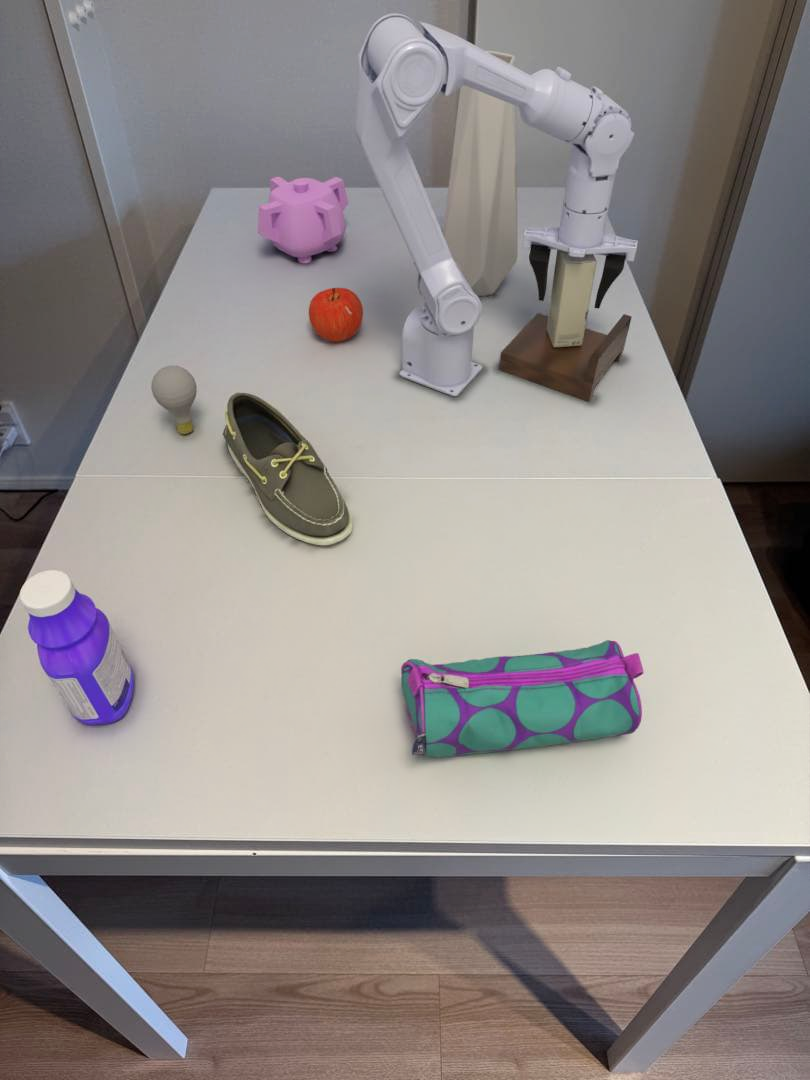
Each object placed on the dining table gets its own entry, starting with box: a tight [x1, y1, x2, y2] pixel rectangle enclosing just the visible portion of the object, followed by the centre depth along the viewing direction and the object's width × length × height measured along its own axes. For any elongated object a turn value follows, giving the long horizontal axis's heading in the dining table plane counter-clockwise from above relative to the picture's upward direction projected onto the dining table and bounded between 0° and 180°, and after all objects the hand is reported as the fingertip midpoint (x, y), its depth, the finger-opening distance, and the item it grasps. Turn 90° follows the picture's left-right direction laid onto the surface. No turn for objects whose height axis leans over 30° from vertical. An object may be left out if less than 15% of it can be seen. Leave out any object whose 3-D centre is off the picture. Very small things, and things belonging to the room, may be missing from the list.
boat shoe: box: [222, 392, 354, 546], centre depth 93 cm, size 24×10×7 cm, turn 27°
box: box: [547, 250, 598, 347], centre depth 106 cm, size 5×4×13 cm
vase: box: [442, 50, 519, 297], centre depth 114 cm, size 12×12×33 cm
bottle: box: [19, 569, 135, 726], centre depth 69 cm, size 7×6×17 cm
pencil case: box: [400, 639, 645, 758], centre depth 70 cm, size 21×9×10 cm, turn 97°
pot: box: [257, 176, 350, 264], centre depth 130 cm, size 18×17×12 cm
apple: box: [308, 287, 364, 343], centre depth 114 cm, size 8×8×8 cm
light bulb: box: [151, 365, 198, 435], centre depth 99 cm, size 6×5×10 cm
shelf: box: [498, 312, 633, 403], centre depth 109 cm, size 14×12×7 cm
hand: (569, 300), depth 107 cm, fingers open, 7 cm apart
